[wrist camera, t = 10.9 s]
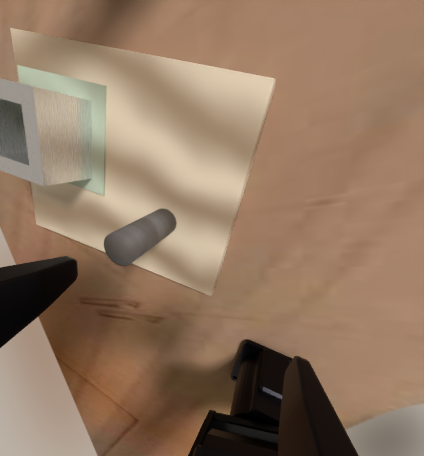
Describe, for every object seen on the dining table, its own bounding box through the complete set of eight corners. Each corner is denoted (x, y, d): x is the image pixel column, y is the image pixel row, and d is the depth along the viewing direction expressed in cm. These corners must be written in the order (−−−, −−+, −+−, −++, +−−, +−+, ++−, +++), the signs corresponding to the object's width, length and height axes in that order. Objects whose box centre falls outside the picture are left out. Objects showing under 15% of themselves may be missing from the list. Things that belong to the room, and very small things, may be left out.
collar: (92, 178, 20) (43, 186, 16) (39, 160, 21) (-19, 163, 17) (91, 100, 17) (33, 86, 13) (30, 85, 18) (-40, 68, 14)
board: (215, 287, 22) (186, 348, 15) (49, 220, 26) (-32, 245, 19) (275, 84, 15) (269, 32, 8) (29, 36, 19) (-111, -25, 12)
